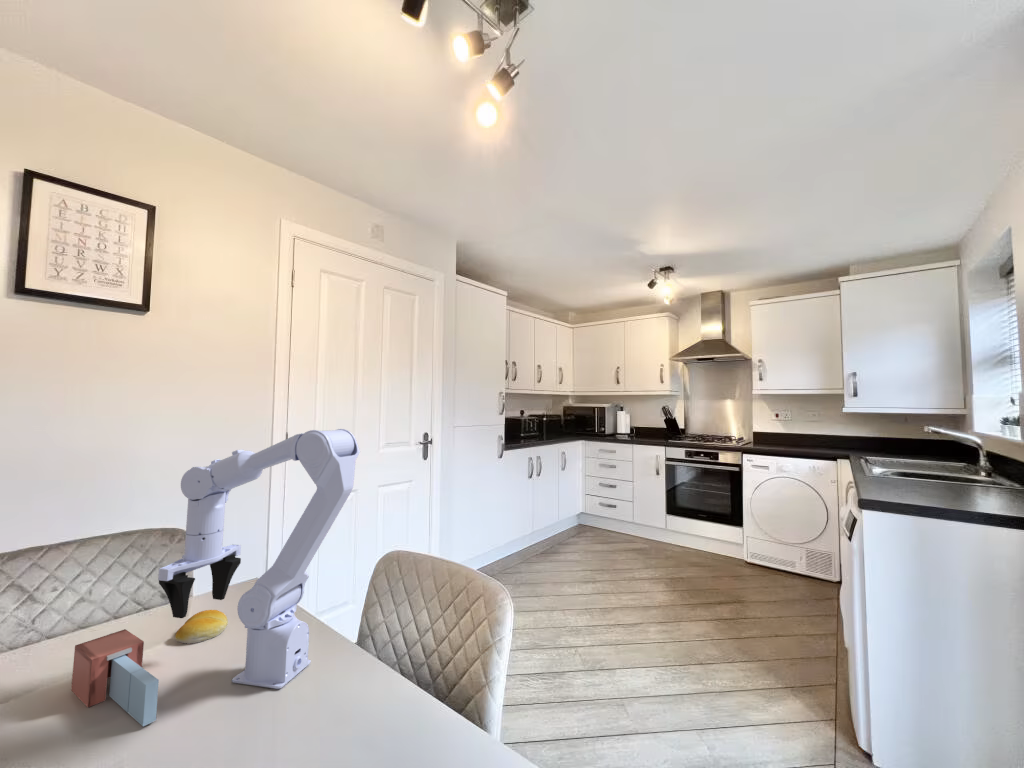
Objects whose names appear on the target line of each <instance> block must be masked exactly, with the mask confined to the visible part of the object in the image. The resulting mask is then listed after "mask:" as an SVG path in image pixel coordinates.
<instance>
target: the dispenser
mask: <svg viewBox="0 0 1024 768" xmlns="http://www.w3.org/2000/svg"><path fill="white" fill-rule="evenodd" d="M144 643H145V642H144V640H143V639H141V638H140V637H138V636H137V635H135V634H133V633H132V632H130V630H129V631H128V629H121V630H118V631H116V632H112V633H109V634H106V635H103V636H100V637H97V638H95V639H91V640H88V641H84V642H82V643H78V644H75V646H74V653H73V666H72V677H71V688H70V690H71V692H72V693H73V694H74V695H75V696H76V697H77V698H78V699H79V700H80V701H81V702H82V703H83V704H84V706H86V707H87V708H91V707H92V706H95V705H99V704H100V703H102V702H105V701H106V698H107V686H108V679H109V678H110V679H111V668H112V659H114V658H117V657H119V656H122V655H126V656H127V657H129V658H130V659H131V660H133V661H134V662H135V663H137V664H138V665H139V666H141V667H142V668H143V658H144V656H143V655H144Z"/></svg>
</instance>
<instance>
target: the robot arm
mask: <svg viewBox="0 0 1024 768" xmlns="http://www.w3.org/2000/svg"><path fill="white" fill-rule="evenodd" d="M360 453H361V451H360V448H359V445H358V442H357V438H356V437H355V434H354V433H352V432H351V431H350V430H348V429H345V428H338V429H331V430H330V429H329V430H318V429H309V430H307V431H306V432H304V433H297V434H294V435H292V436H290V437H288V438H286V439H284V440H282V441H280V442H277V443H275V444H273V445H271V446H269V447H266V448H264V449H262V450H259V451H257V452H254V451H252V450H244V449H236V450H233V451H232V452H231V455H230V456H227V457H225V458H222V459H218V458H217V459H214V460H211V461H210V464H209V465H207V466H192V467H191V468H190V469H188V470H186V472H184V473H183V475H182V477H181V479H180V490H181V492H182V494H183V495H184V497H185V498H187V509H186V510H187V511H186V525H185V542H184V554H182V555H181V558H179V559H178V560H176V561H173V562H172V563H169V564H168V565H164V566H163V567H160V568H158V574H157V575H158V576H157V580H158V584H159V585H160V586H161V588H162V589H163V591H164V592H165V595H166V597H167V600H168V602H169V606H170V609H171V614H172V617H173V618H176V619H184V618H185V617H187V614H188V610H189V598H190V595H191V591H192V587H193V585H194V582H195V581H196V578H195V577H190V576H189V575H188V574H187V573H190V572H192V571H195V570H198V569H200V568H204V567H206V566H210V571H211V578H212V582H211V583H212V585H211V586H212V588H211V589H212V590H211V591H212V592H211V594H212V595H211V596H212V599H213V600H218V601H222V600H225V597H226V595H227V593H228V589H229V587H230V583H231V581H232V578H233V576H234V574H235V572H236V571H237V569H238V568H239V566H240V564H241V563H242V561H241V560H242V558H241V557H238V556H240V555H241V551H242V545H241V544H233V543H232V544H230V545H225V546H224V545H223V542H224V531H225V530H224V529H225V528H224V527H225V513H226V503H227V501H229V494H230V492H231V491H232V490H233V489H235V488H237V487H240V486H242V485H245V484H247V483H251V482H254V481H255V480H257V479H259V478H260V477H261V476H262V473H263V472H264V471H263V470H265V469H269V468H270V467H274V466H276V465H279V464H282V463H285V462H287V461H291V460H292V461H294V462H296V461H299V462H300V464H301V465H302V467H303V468H304V469H305V470H304V471H306V473H307V474H308V476H309V477H310V479H311V480H312V481H313V483H314V484H315V485H316V490H315V492H314V493H313V495H312V497H311V498H310V501H309V503H308V504H307V505H306V508H304V510H303V513H302V515H301V516H300V518H299V520H298V521H297V522H296V525H295V526H294V529H293V530H292V532H291V534H290V535H289V537H288V539H287V540H286V542H285V543H284V545H283V548H282V549H281V551H280V553H279V554H278V556H277V558H276V560H275V561H274V563H273V564H272V565H271V567H270V568H269V569H267V570H266V571H265V572H264V573H263V574H262V575H261V576H260V577H259V578H258V579H257V580H256V581H255V583H254V584H253V585H252V587H251V588H250V589H249V590H247V591H245V592H244V593H243V594H242V595H241V596H240V598H239V600H238V602H237V603H238V604H237V614H238V615H237V616H238V618H239V620H240V622H241V623H242V624H243V625H244V629H246V631H247V632H246V648H245V650H246V651H245V652H246V653H245V665H244V666H245V669H244V670H242V671H241V672H239V673H238V674H237V675H235V676H234V677H233V678H232V679H231V682H232V683H235V684H241V685H248V686H256V687H262V688H270V689H277V690H279V689H282V688H283V687H284V686H286V684H288V683H289V682H290V681H291V680H293V679H294V678H295V677H296V676H297V675H298V674H300V672H301V671H303V670H304V669H305V668H306V667H308V666H309V665H310V664H311V659H309V642H310V628H309V625H308V623H307V622H305V621H303V620H300V619H298V618H297V616H296V615H295V612H297V607H298V606H297V605H298V604H299V603H300V602H301V600H302V599H303V597H304V594H305V586H306V583H307V581H308V579H309V573H308V572H307V571H306V570H307V569H308V567H309V566H310V564H311V563H312V560H313V559H314V557H315V555H316V554H317V552H318V549H319V548H320V546H321V544H322V543H323V541H324V540H325V537H326V536H327V534H328V532H329V531H330V529H331V528H332V526H333V524H334V523H335V520H336V519H337V517H338V516H339V514H340V512H341V510H342V508H343V507H344V505H345V503H346V502H347V500H348V498H349V496H350V495H351V493H352V491H353V488H354V480H355V470H356V460H357V458H358V457H359V455H360Z"/></svg>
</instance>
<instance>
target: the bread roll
mask: <svg viewBox="0 0 1024 768" xmlns="http://www.w3.org/2000/svg"><path fill="white" fill-rule="evenodd" d="M228 624H229V620H228V617H227V615H226V614H225V613H224V612H222V611H220V610H219V609H206V610H202V611H199V612H197V613H195V614H193V615H192V616H190V618H188V619H187V620H186V621H185V622H184V624H183V625H181V626H180V627H179V628H178V630H177V631H176V633H175V637H174V638H175V640H176V641H177V642H179V643H181V642H182V643H181V644H186V643H187V644H188V645H191V644H190V643H193V644H197V643H196V642H199V643H202V642H201V641H203V642H205V641H204V640H206V641H208V640H211V639H213V637H214V638H216V637H217V636H219V635H221V634H222V633H223V632H224V631H225V629H226V627H228ZM215 636H216V637H215ZM210 638H211V639H210ZM207 639H208V640H207Z"/></svg>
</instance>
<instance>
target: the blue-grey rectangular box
mask: <svg viewBox="0 0 1024 768" xmlns="http://www.w3.org/2000/svg"><path fill="white" fill-rule="evenodd" d="M159 681H160V679H158V678H157V677H156V676H155V675H153V674H151V672H149V671H148V670H146V669H145V668H144V667H143V666H142V667H141V666H139V665H138V664H137V663H135V662H134V661H133V660H131V659H130V658H129V657H127V656H126V655H122V656H119V657H117V658H114V659H112V668H111V677H110V681H109V693H108V694H109V695H108V696H109V697H110V698H111V700H113V701H114V702H115V703H116V704H117V705H119V706H120V707H121V709H123V710H124V711H125V712H126V713H127V714H129V715H130V716H131V717H132V718H133V719H134V720H135V721H136V722H137V723H138V724H139V725H141V726H142V727H145V726H147V725H149V724H151V723H153V722H155V721H157V709H158V694H159V683H160V682H159Z"/></svg>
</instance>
